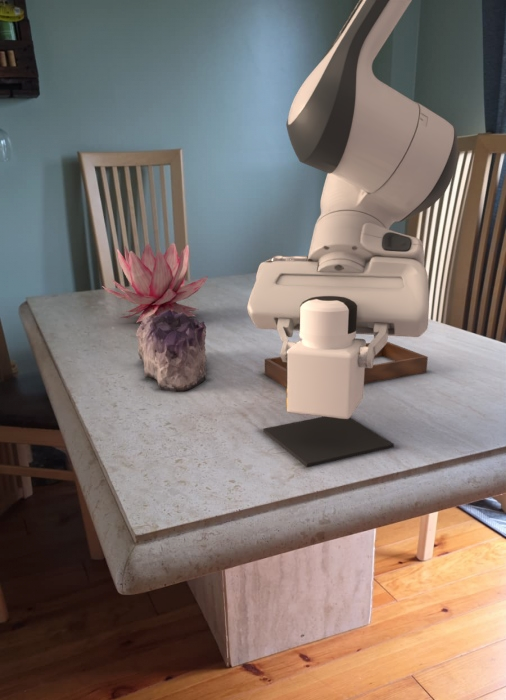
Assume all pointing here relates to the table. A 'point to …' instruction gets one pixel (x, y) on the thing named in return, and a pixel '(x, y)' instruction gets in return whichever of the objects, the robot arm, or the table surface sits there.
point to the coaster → (326, 439)
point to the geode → (173, 350)
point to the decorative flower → (157, 282)
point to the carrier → (401, 366)
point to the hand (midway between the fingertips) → (326, 362)
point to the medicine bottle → (325, 360)
